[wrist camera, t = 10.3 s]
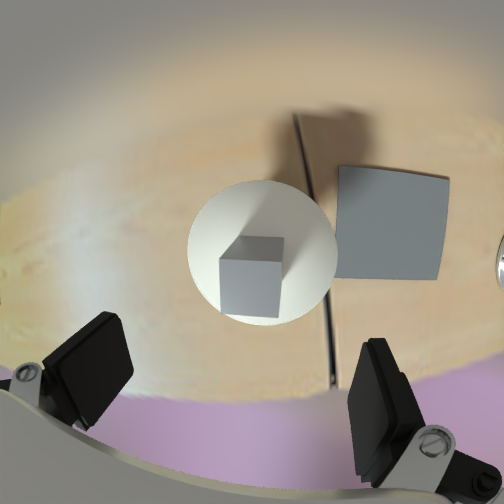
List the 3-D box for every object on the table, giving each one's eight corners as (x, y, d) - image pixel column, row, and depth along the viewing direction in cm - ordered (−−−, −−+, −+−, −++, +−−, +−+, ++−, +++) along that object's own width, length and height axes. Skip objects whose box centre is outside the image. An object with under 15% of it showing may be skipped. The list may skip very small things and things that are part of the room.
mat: (447, 180, 28) (449, 180, 28) (435, 278, 32) (436, 280, 32) (338, 165, 30) (339, 165, 30) (331, 276, 34) (332, 277, 34)
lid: (340, 183, 20) (364, 188, 13) (327, 322, 23) (337, 373, 16) (189, 180, 21) (147, 184, 15) (196, 313, 25) (166, 357, 18)
